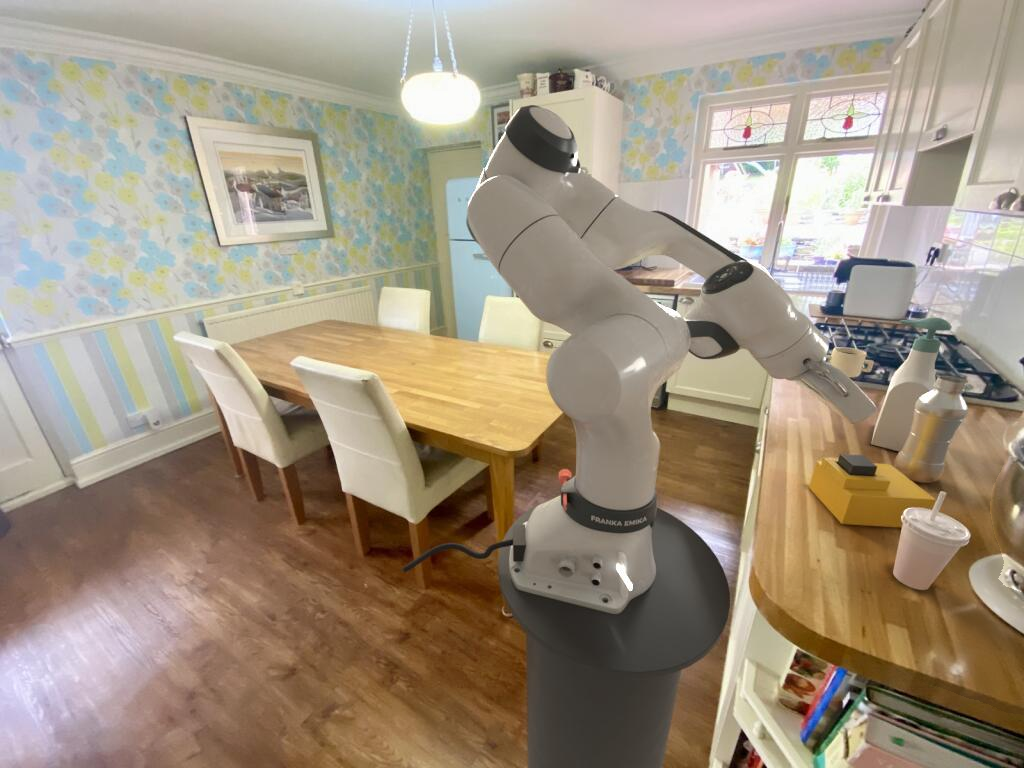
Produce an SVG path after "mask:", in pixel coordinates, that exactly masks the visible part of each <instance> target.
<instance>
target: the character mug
mask: <svg viewBox="0 0 1024 768" xmlns="http://www.w3.org/2000/svg"><path fill="white" fill-rule="evenodd" d="M826 355H827V358H826V359H829V361H828V363H829V364H831V365H832V366H834V367H836V368H838V369H839V370H841V371H842V372H843V373H845V374H846V375H847V376H848V377H849V378H850V379H851V380H852V381H853V382H854V383H855V380H854V378H857V377H859V376H860V375H861V373H862V372H863V373H864V372H865V373H871V371H872V370H873V367H874V363H875V361H874V360H872V359H866V357H867V356H868V355H867V352H866V351H864V350H862V349H858V348H853V347H847V346H846V347H845V346H837V347H834V348H833V349H832V350H831V354H826ZM865 364H867V367H864V365H865Z"/></svg>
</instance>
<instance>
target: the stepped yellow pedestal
mask: <svg viewBox="0 0 1024 768" xmlns="http://www.w3.org/2000/svg"><path fill="white" fill-rule="evenodd" d="M838 459H839V457H822V460H816V461H815V464H814V467H813V472H812V475H811V478H810V482H809V485H808V489H810V490H811V491H812V493H813V494H814V495H815V496H816V497H817V499H819V501H820V502H822V504H823V506H825V508H827V510H829V512H830V513H831V514H832V515H833V516H834V517H835V518H836V519H837V520H838V522H839V523H840V524H841V525H851V526H853V525H854V526H867V527H868V526H870V527H886V528H901V529H902V525H903V522H902V520H901V516H902V515H903V513H904V511H905V510H906V509H908V508H925V509H929V510H933V507H934V505H935V503H936V501H937V499H936V498H935V497H933V496H932V495H931V494H929V493H928V492H927V491H925V490H924V489H923V488H922V487H920V486H919V485H918V484H916V483H915V481H913V480H910V479H909V478H907V477H906V476H905V475H903V474H902V473H901V472H899V471H898V470H897V469H896V468H895V467H894V465H892V464H891V463H877V462H876V463H875V462H872V463H873V464H875V465H876V466H877V469H876V472H875V475H874V476H854V475H849V474H848V473H847V472H846V471H844V470H843V469H842V468H841V467H840V466H839V465H838V464H837V462H838Z"/></svg>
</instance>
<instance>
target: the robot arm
mask: <svg viewBox="0 0 1024 768" xmlns="http://www.w3.org/2000/svg"><path fill="white" fill-rule="evenodd" d="M578 154H579V149H578V145H577V140H576V137H575V134H574V132H573V131H572V129H571V128H570V127H569V126H568V125H567V123H566V122H565V120H564V119H563V118H562V117H561V116H560V115H558V114H557V113H556V112H554V111H553V110H550V109H548V108H544V107H541V106H539V105H535V104H530V105H524V106H520V107H519V108H518V109H517V110H516V112H515V113H514V114H513V115H512V116H511V118H510V119H509V120H508V123H506V125H505V127H504V133H503V135H502V136H501V138H500V140H499V141H498V143H497V145H496V147H495V148H494V149H493V151H492V153H491V156H490V157H489V160H488V162H487V164H485V166H484V168H483V170H482V172H481V175H480V178H479V180H478V183H477V185H476V189H475V191H474V192H473V193H472V195H471V197H470V199H469V201H468V205H467V210H466V221H465V222H466V227H467V230H468V232H469V234H470V237H471V238H472V239H473V241H474V242H475V243H476V244H478V245H479V247H480V249H481V251H482V252H483V253H484V255H485V257H486V258H487V259H488V261H489V262H490V264H492V266H493V268H494V269H495V270H496V272H497V273H498V274H499V276H500V277H501V278H502V279H503V280H504V281H505V282H506V284H507V285H508V286H509V287H510V289H511V290H512V291H513V292H514V294H515V295H516V296H517V297H518V299H519V300H520V301H521V303H523V304H524V306H525V307H526V308H527V309H528V311H529V312H530V313H531V314H532V316H534V317H535V318H537V319H538V320H540V321H541V322H544V323H547V324H551V325H554V326H556V327H558V328H560V329H562V330H563V331H565V332H567V334H569V335H570V336H568V337H567V338H566V339H565V340H564V341H562V343H560V345H558V346H557V347H556V348H555V349H554V350H553V351H552V353H551V355H550V356H549V358H548V360H547V363H546V369H545V383H546V386H547V390H548V393H549V395H550V397H551V399H552V401H553V402H554V404H555V405H556V406H557V408H558V409H559V410H560V411H561V412H562V413H563V414H564V415H566V416H567V417H568V418H570V419H571V421H572V425H573V427H574V428H573V429H574V432H575V440H576V441H575V442H576V447H575V448H576V449H575V450H576V453H575V475H574V476H572V475H573V474H572V471H570V469H568V468H563V469H561V470H560V471H559V472H558V480H557V481H558V484H559V485H560V495H558V496H556V497H554V499H553V498H551V499H552V500H550V499H548V500H549V501H547V500H546V501H547V502H545V501H544V502H545V503H543V502H542V503H543V504H540V503H539V504H540V505H538V504H537V505H538V506H537V507H536V508H535V509H534V510H533V512H532V513H531V515H530V517H529V520H528V521H527V522H525V523H523V524H514V523H513V524H514V525H513V524H512V525H513V539H511V540H506V541H503V540H501V541H497V542H495V543H493V544H491V545H489V546H488V547H487V548H486V550H485V551H484V552H477V551H474V550H472V549H470V548H469V547H467V546H465V545H463V544H460V543H457V542H446V543H442V544H439V545H436V546H434V547H432V548H430V549H428V550H426V551H425V552H423V553H422V554H421V555H419V556H418V557H417V558H415V559H413V560H412V561H410V562H408V563H407V564H405V565H404V566H402V567H401V568H402V571H403V573H404V574H405V573H408V572H409V571H410V570H411V569H413V568H415V567H417V566H418V565H419V564H421V563H422V562H423V561H425V560H426V559H428V558H430V557H431V556H432V555H433V556H434V554H437V553H439V552H441V551H445V550H457V551H460V552H462V553H464V554H466V555H467V556H469V557H471V558H473V559H477V560H486V559H487V558H489V557H490V556H491V555H492V552H493V551H496V550H498V549H500V548H502V547H507V546H511V548H510V555H509V572H510V576H511V579H512V582H513V584H514V585H515V587H516V588H517V589H518V590H521V591H525V592H528V593H532V594H536V595H540V596H544V597H548V598H552V599H556V600H560V601H564V602H568V603H572V604H576V605H580V606H583V607H587V608H591V609H595V610H599V611H603V612H607V613H611V614H619V613H621V612H622V611H623V610H624V609H625V607H626V606H627V604H628V603H629V601H630V600H631V599H633V598H635V597H637V596H639V595H640V594H642V593H644V592H645V591H646V590H647V589H648V588H649V587H650V586H651V585H652V583H653V582H654V579H655V576H656V565H655V561H654V557H653V550H652V535H651V532H652V527H653V525H654V519H655V518H656V511H657V508H658V492H657V490H656V486H657V485H656V484H657V476H658V468H659V463H660V452H661V442H660V438H659V436H658V435H657V433H656V432H655V431H654V428H653V422H652V405H653V401H654V398H655V395H656V393H657V391H658V389H659V388H660V387H661V386H662V385H663V384H665V383H666V382H667V381H668V380H669V379H671V378H672V377H673V376H675V374H677V372H678V371H679V370H680V369H681V367H682V366H683V364H684V362H685V360H686V358H687V356H688V353H690V354H691V355H692V356H694V357H696V358H698V359H701V360H717V359H721V358H725V357H729V356H732V355H733V354H736V353H737V352H739V351H740V350H746V351H748V352H749V355H750V356H751V357H752V358H753V359H754V360H755V361H756V362H757V363H758V364H759V366H760V367H761V368H762V369H763V370H764V371H765V372H766V373H767V374H768V375H769V376H770V377H771V378H772V379H776V380H787V381H791V382H794V383H795V384H796V385H798V386H799V387H801V388H802V389H803V390H805V391H806V392H808V393H809V394H810V395H811V396H813V397H814V398H816V399H817V400H818V401H820V402H821V403H822V404H823V405H825V406H826V407H828V408H829V409H830V410H831V411H833V412H834V413H836V414H837V415H838V416H839V417H841V418H842V419H843V420H845V421H846V422H848V424H851V425H857V424H859V423H861V422H862V421H865V420H866V419H868V418H869V417H871V416H872V415H874V414H875V413H876V412H877V410H878V408H877V405H876V404H875V403H874V401H872V400H871V398H870V397H869V396H868V395H867V394H866V393H865V392H864V391H863V389H862V388H861V387H859V386H858V384H857V383H856V382H855V381H854V382H853V381H852V380H851V379H850V378H849V377H848V376H847V375H846V374H845V373H843V372H842V371H841V370H839V369H838V368H836V367H834V366H832V365H831V364H829V362H828V361H827V359H828V358H827V355H828V354H827V353H828V351H829V349H830V342H829V340H828V339H827V338H826V337H825V335H824V334H823V333H822V332H821V331H820V330H819V328H818V327H817V326H816V325H815V324H814V323H813V321H812V320H811V319H810V318H809V317H808V316H807V315H806V314H805V313H803V312H801V311H799V310H798V309H797V308H796V307H795V305H794V302H793V300H792V298H791V296H790V295H789V294H788V292H787V291H786V290H785V289H784V288H783V287H782V286H781V284H780V283H778V282H777V281H776V279H775V278H773V277H772V276H771V274H770V272H769V270H767V269H766V268H765V267H764V266H762V265H761V264H760V263H758V262H755V261H753V260H751V259H748V258H745V257H743V256H741V255H738V254H736V253H734V251H733V252H732V251H731V250H729V249H727V248H726V247H724V246H723V245H721V244H720V243H717V242H716V241H715V240H713V239H711V238H710V237H708V236H706V234H704V233H702V232H700V231H698V230H697V229H695V228H694V227H692V226H690V225H689V224H688V223H685V222H684V221H682V220H680V219H679V218H677V217H675V216H673V215H671V214H669V213H667V212H664V211H661V210H644V209H642V208H639V207H637V206H634V205H633V204H630V203H629V202H626V200H624V199H622V198H621V197H620V196H618V194H616V193H615V192H614V191H613V190H611V189H610V188H609V187H608V186H606V185H605V184H604V183H602V182H600V181H599V180H597V179H596V178H594V177H593V176H591V175H590V174H588V173H587V172H584V171H582V170H581V162H580V160H579V158H578V156H579V155H578ZM653 256H666V257H669V258H671V259H673V260H674V261H676V262H678V263H679V264H681V265H683V266H684V267H686V268H687V269H689V270H691V271H692V272H694V273H696V275H699V276H700V277H702V278H703V279H704V280H705V281H704V283H703V284H702V286H701V289H700V294H699V296H698V297H697V298H696V299H695V301H693V303H691V305H690V306H689V308H688V309H687V310H686V312H685V313H684V315H683V316H682V315H681V314H680V313H678V312H677V311H676V310H674V309H673V308H671V307H668V306H665V305H662V304H661V303H659V302H657V301H655V300H654V299H653V298H651V297H650V296H649V295H648V294H646V292H644V291H642V290H641V289H640V288H638V287H637V286H636V285H635V284H633V283H632V282H630V281H629V280H628V279H626V278H625V277H623V276H622V275H621V274H620V273H618V272H616V270H621V269H624V268H628V267H630V266H632V265H633V264H636V263H637V262H640V261H642V260H644V259H647V258H649V257H653ZM516 571H518V572H516ZM603 601H606V602H607V603H604V602H603Z"/></svg>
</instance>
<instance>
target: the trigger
mask: <svg viewBox="0 0 1024 768" xmlns="http://www.w3.org/2000/svg"><path fill="white" fill-rule="evenodd" d="M838 458H839V459H838V462H837V464H838V465H839V466H840V467H841V468H842V469H843V470H844V471H846V472H847V473H848V474H849V475H854V476H874V475H875V472H876V469H877V466H876V465H875V464H873V463H874V462H872V461H871V460H869V459H868V458H867V457H866V456H865V455H864V454H847V453H840V454H839V456H838Z"/></svg>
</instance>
